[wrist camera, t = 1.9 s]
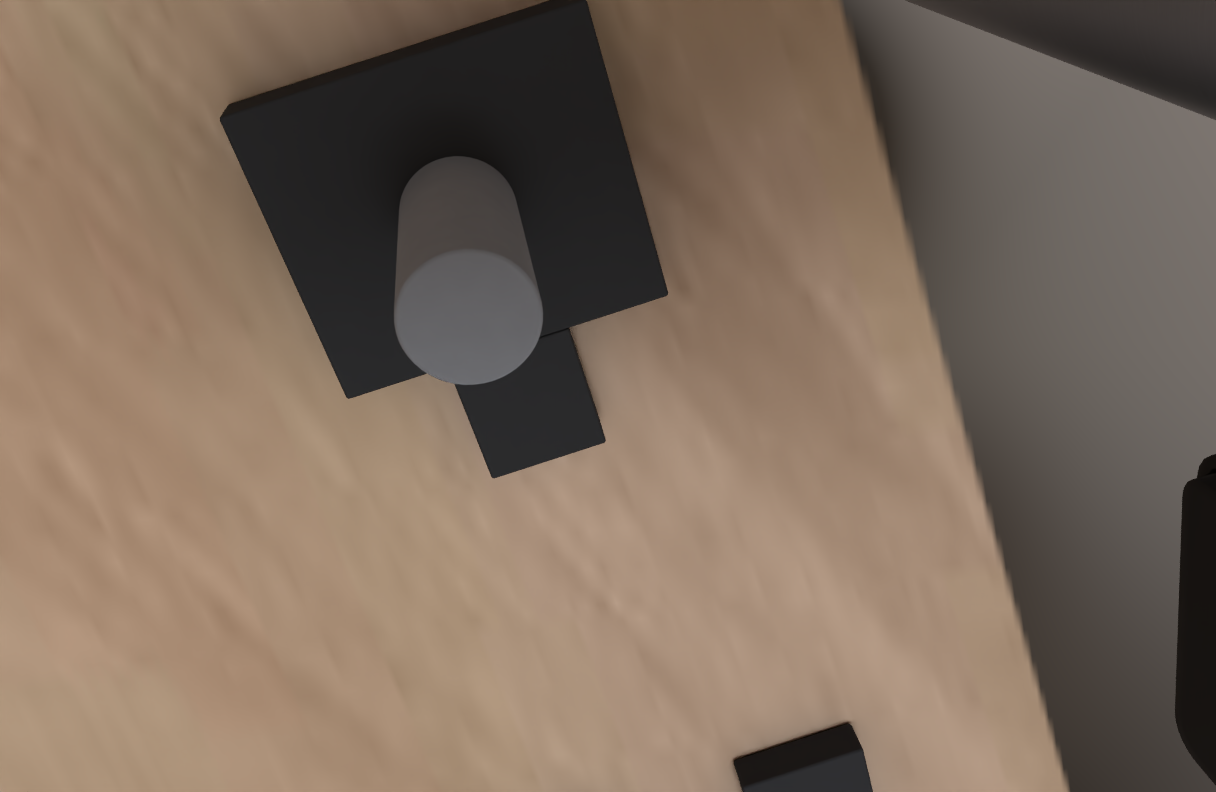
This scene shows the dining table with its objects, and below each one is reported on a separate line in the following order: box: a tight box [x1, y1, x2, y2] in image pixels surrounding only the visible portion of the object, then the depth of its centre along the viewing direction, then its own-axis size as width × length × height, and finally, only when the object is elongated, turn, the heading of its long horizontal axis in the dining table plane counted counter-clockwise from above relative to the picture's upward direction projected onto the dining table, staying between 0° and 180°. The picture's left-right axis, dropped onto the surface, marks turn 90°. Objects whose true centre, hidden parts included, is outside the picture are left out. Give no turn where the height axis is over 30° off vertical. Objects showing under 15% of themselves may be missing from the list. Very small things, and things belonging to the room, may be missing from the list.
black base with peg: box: [220, 0, 668, 478], centre depth 24 cm, size 8×10×7 cm
